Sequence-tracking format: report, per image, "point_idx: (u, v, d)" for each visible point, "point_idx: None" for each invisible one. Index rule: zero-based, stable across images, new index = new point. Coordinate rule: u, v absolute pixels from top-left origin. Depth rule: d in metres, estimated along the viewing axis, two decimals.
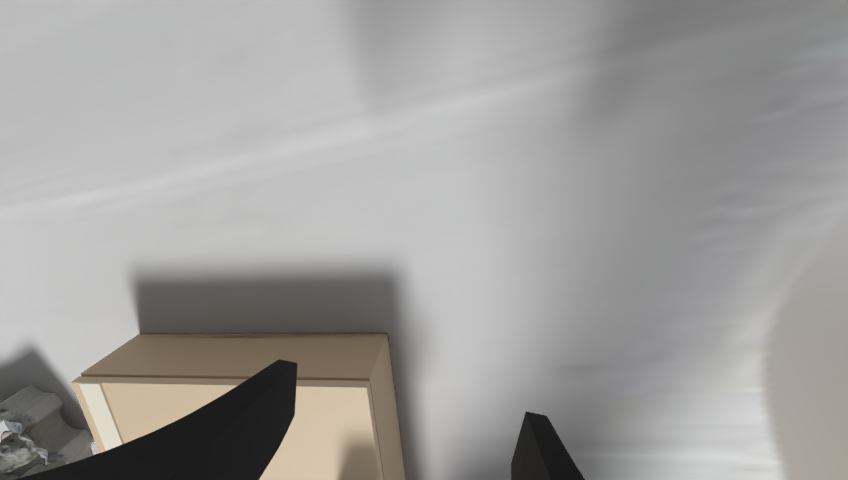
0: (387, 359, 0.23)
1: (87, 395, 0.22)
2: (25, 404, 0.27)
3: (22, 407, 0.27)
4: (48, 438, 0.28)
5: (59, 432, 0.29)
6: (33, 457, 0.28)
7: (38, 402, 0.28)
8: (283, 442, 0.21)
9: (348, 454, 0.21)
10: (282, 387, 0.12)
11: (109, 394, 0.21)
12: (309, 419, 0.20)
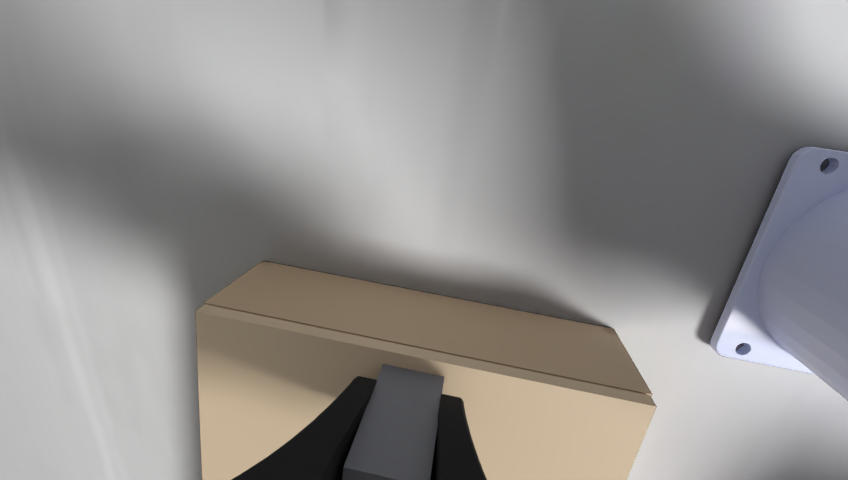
0: (283, 272, 0.17)
1: None
2: None
3: None
4: None
5: None
6: None
7: None
8: None
9: (309, 373, 0.14)
10: None
11: None
12: (250, 400, 0.14)
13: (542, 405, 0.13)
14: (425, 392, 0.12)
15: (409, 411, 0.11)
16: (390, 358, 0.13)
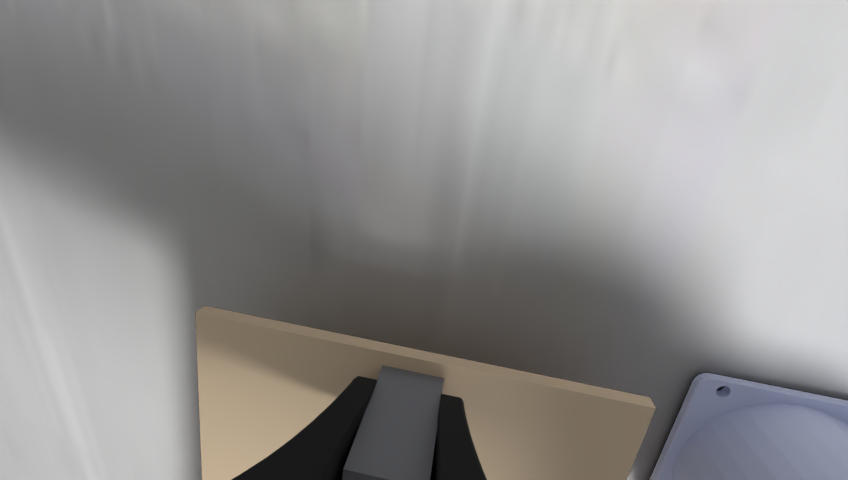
0: None
1: None
2: None
3: None
4: None
5: None
6: None
7: None
8: None
9: (309, 375, 0.14)
10: None
11: None
12: (249, 402, 0.14)
13: (542, 406, 0.13)
14: (425, 394, 0.12)
15: (409, 412, 0.11)
16: (390, 360, 0.13)
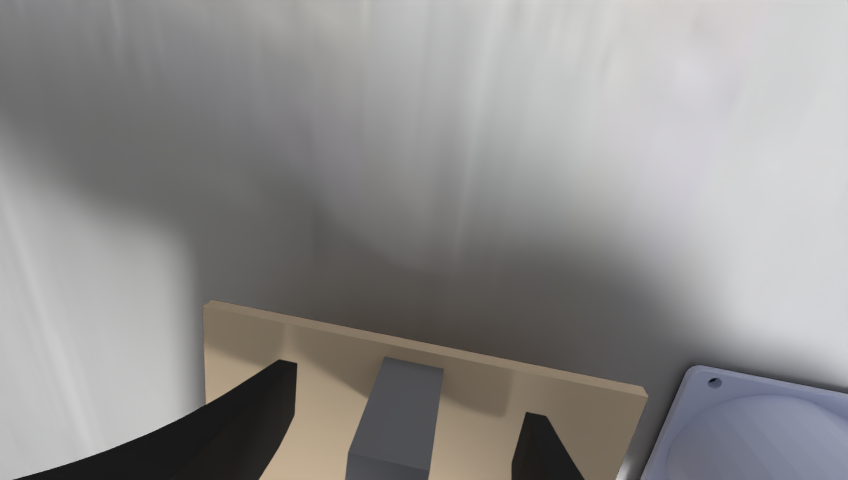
0: None
1: None
2: None
3: None
4: None
5: None
6: None
7: None
8: (292, 437, 0.15)
9: (313, 366, 0.14)
10: (282, 387, 0.12)
11: None
12: None
13: (538, 396, 0.13)
14: (425, 383, 0.13)
15: (410, 400, 0.12)
16: (391, 351, 0.14)
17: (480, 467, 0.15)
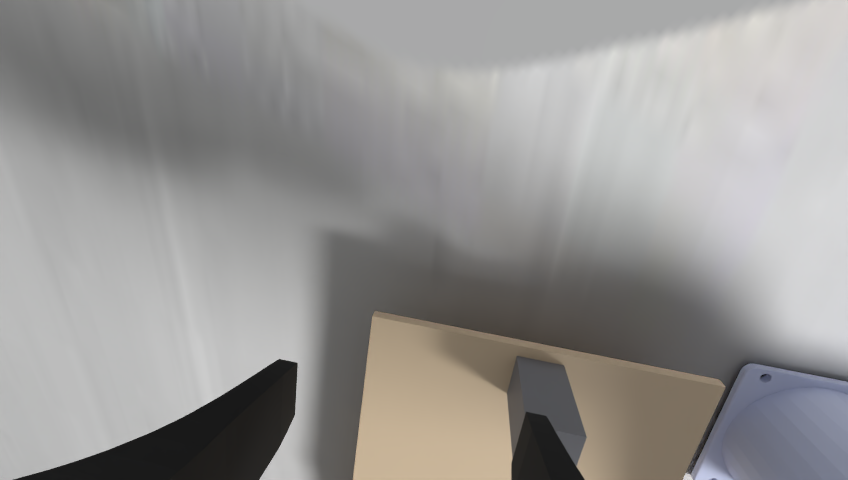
0: None
1: None
2: None
3: None
4: None
5: None
6: None
7: None
8: (432, 420, 0.19)
9: (457, 363, 0.18)
10: (282, 387, 0.12)
11: None
12: (406, 384, 0.19)
13: (638, 386, 0.17)
14: (556, 376, 0.17)
15: (551, 389, 0.16)
16: (523, 352, 0.17)
17: (585, 443, 0.18)
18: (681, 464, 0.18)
